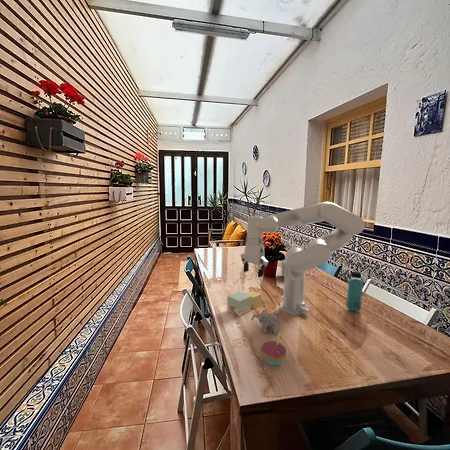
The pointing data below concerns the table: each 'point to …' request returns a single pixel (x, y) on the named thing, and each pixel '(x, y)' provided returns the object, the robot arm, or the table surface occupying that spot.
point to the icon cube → (283, 268)
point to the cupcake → (273, 351)
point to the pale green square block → (239, 300)
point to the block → (254, 299)
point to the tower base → (239, 310)
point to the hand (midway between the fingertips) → (253, 274)
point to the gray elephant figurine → (268, 321)
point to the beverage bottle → (354, 292)
